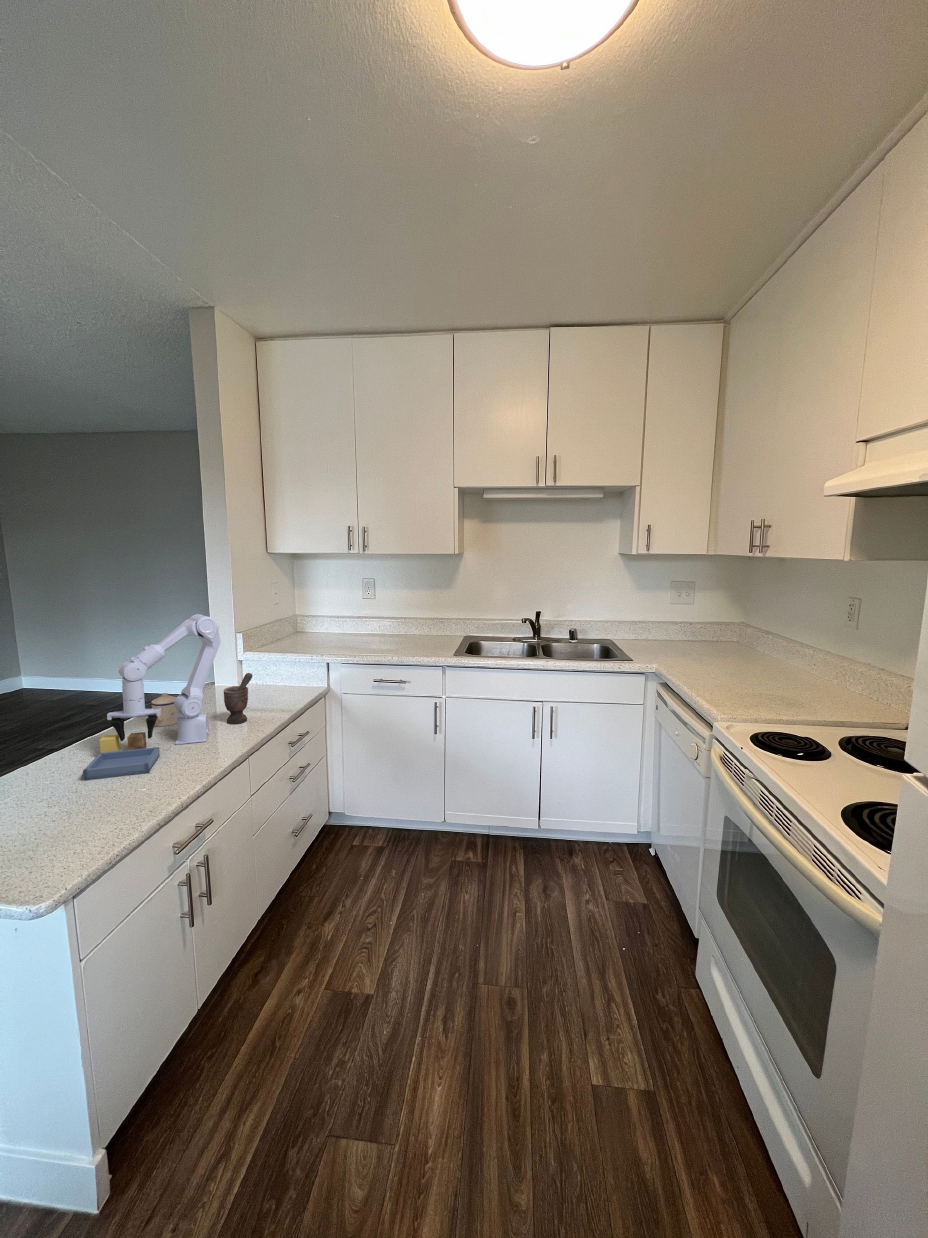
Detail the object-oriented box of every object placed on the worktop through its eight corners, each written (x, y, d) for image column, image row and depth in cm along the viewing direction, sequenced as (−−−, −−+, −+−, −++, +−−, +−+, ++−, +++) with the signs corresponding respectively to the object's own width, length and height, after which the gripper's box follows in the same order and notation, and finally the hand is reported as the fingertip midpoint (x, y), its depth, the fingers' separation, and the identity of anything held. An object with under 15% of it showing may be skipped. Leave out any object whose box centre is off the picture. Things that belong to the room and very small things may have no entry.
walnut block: (146, 749, 161) (145, 731, 160) (143, 753, 157) (141, 736, 156) (132, 750, 159) (131, 733, 158) (128, 755, 155) (127, 737, 155)
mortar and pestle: (260, 717, 193) (258, 669, 190) (252, 725, 184) (250, 674, 182) (230, 717, 192) (228, 668, 190) (221, 725, 184) (218, 674, 181)
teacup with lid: (158, 719, 189) (156, 690, 187) (183, 718, 191) (182, 689, 189) (144, 730, 177) (142, 699, 176) (171, 729, 179) (169, 698, 177)
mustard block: (120, 751, 158) (118, 734, 157) (115, 756, 154) (114, 738, 154) (105, 753, 157) (104, 735, 156) (101, 758, 153) (99, 740, 152)
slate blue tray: (159, 755, 155) (159, 747, 155) (148, 773, 143) (148, 763, 143) (100, 762, 150) (99, 753, 150) (83, 780, 138) (82, 770, 138)
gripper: (162, 693, 162) (165, 732, 164) (111, 696, 157) (114, 736, 159) (157, 699, 155) (159, 739, 157) (103, 702, 150) (106, 744, 152)
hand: (136, 738), depth 157 cm, fingers open, 7 cm apart
